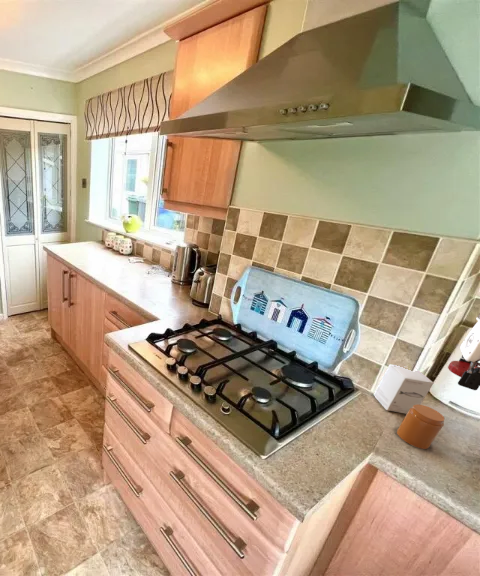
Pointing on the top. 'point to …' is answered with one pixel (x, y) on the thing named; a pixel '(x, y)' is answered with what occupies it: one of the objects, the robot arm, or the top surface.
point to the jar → (421, 426)
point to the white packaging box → (402, 389)
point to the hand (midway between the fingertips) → (464, 379)
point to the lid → (459, 367)
